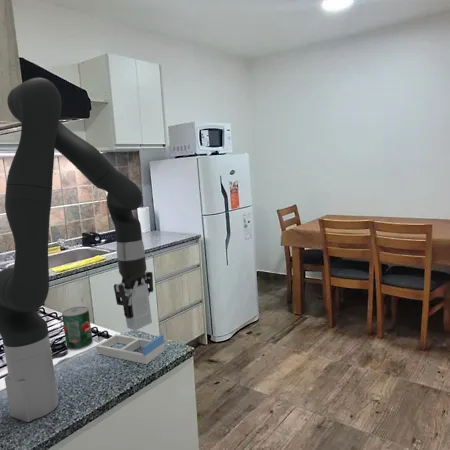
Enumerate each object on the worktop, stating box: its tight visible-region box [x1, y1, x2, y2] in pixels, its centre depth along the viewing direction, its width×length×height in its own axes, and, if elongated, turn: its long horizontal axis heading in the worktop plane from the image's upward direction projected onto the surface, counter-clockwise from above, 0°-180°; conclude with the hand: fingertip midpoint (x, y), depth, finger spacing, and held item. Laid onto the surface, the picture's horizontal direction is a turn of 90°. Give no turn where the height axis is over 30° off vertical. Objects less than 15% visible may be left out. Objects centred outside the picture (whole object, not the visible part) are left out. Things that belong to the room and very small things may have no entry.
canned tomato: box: [61, 305, 94, 351], centre depth 125 cm, size 8×8×11 cm
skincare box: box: [125, 283, 153, 331], centre depth 113 cm, size 6×4×12 cm
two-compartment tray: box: [95, 333, 166, 365], centre depth 117 cm, size 9×19×5 cm, turn 62°
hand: (137, 312), depth 113 cm, fingers closed on skincare box, 6 cm apart
